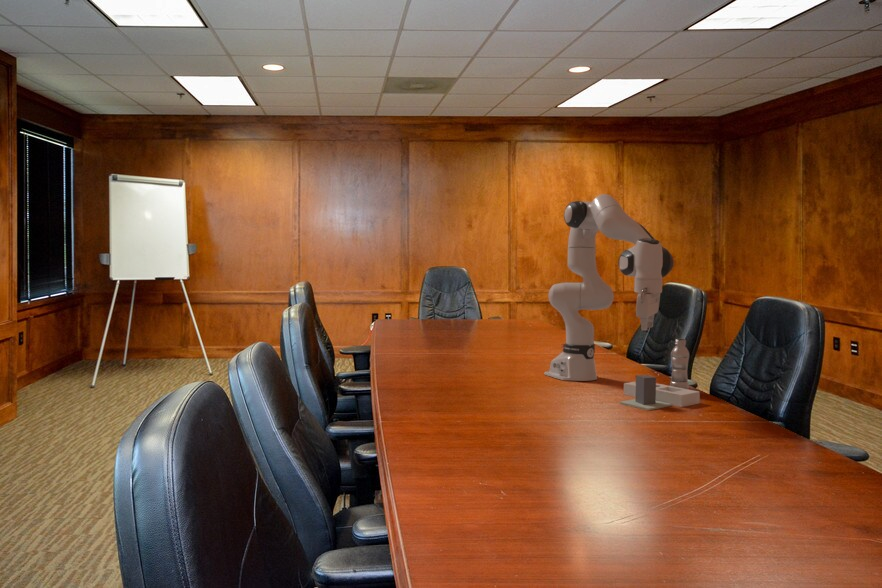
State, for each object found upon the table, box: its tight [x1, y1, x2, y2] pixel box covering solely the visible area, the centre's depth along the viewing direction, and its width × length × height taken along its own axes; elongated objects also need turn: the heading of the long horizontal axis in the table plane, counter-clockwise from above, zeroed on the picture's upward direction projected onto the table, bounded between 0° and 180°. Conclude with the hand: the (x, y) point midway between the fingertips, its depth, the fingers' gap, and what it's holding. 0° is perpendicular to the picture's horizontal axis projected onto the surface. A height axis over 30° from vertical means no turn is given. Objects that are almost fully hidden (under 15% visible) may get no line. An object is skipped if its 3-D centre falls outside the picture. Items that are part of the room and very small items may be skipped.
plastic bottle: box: [669, 338, 690, 390], centre depth 239 cm, size 6×7×20 cm
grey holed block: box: [623, 381, 701, 408], centre depth 232 cm, size 24×10×4 cm, turn 35°
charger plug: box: [634, 374, 657, 405], centre depth 222 cm, size 5×4×9 cm
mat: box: [619, 398, 673, 411], centre depth 222 cm, size 12×12×1 cm
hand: (647, 328), depth 221 cm, fingers open, 8 cm apart
